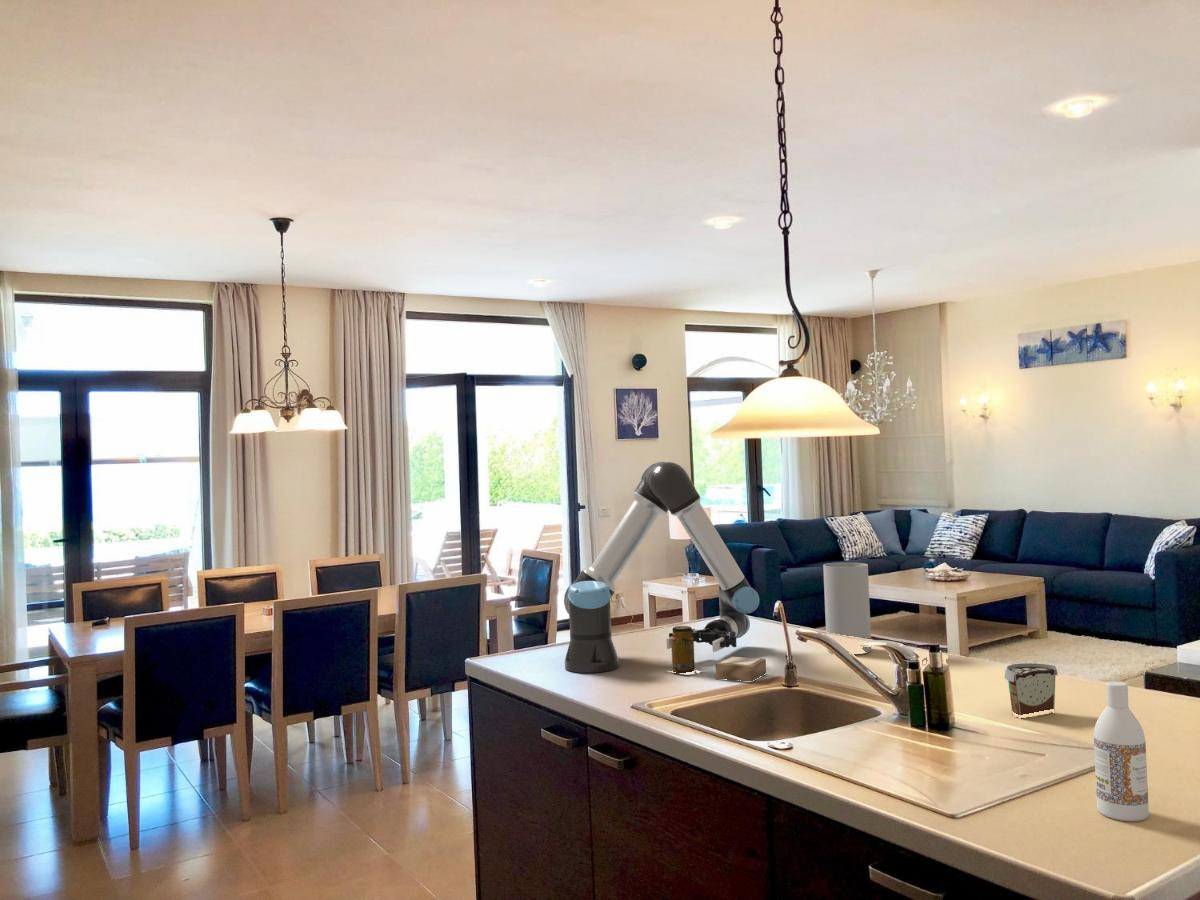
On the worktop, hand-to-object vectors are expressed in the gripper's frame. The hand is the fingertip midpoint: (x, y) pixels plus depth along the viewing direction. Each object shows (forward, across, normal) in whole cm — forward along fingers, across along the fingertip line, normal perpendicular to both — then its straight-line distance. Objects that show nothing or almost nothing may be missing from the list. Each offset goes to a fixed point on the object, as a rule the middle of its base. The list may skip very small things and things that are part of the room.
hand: (690, 645), depth 253 cm
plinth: (+2, -15, -7) cm, 17 cm away
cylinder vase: (-38, -33, -7) cm, 51 cm away
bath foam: (+68, -103, -7) cm, 123 cm away
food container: (+13, -84, -7) cm, 85 cm away
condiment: (+2, +1, -7) cm, 7 cm away
